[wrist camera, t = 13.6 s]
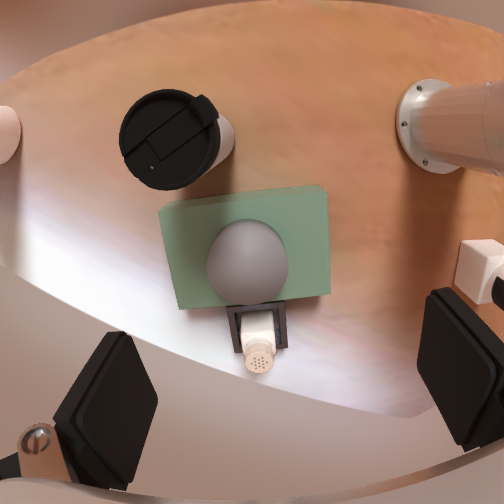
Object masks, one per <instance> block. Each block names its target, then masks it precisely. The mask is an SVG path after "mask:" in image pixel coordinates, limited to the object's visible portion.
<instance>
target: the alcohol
mask: <svg viewBox="0 0 504 504" xmlns="http://www.w3.org/2000/svg"><path fill="white" fill-rule="evenodd" d="M20 136H21V125H20V121H19V118H18V116H17V114H16V113H15V112H14V110H13V109H12V108H10V107H8V106H0V164H3V163H5V162H7V161H8V160H9V159H10V158H11V157H12V155H13V154H14V152H15V151H16V149H17V147H18V145H19V141H20Z"/></svg>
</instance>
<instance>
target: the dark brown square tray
mask: <svg viewBox="0 0 504 504" xmlns="http://www.w3.org/2000/svg"><path fill="white" fill-rule="evenodd" d="M266 309H271V310H272V314H273V323H274V332H275V344H276V349H283V348H288V341H287V327H286V314H285V302H284V300H278V301H268V302H263V303H260V304H255V305H240V304H239V305H228V306H227V313H228V319H229V325H230V330H231V336H232V341H233V346H234V352H235V353H241V352H243V349H242V343H241V320H242V312H246V311H256V310H266Z"/></svg>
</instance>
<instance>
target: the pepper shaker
mask: <svg viewBox="0 0 504 504" xmlns="http://www.w3.org/2000/svg"><path fill="white" fill-rule="evenodd" d="M241 343H242V349H243V354H244V356H245V365H246V367H247V369H248V370H250V371H252V372H253V373H264V372H267V371H268V370H269V369H271V368H272V366H273V362H274V359H273V355H274V354H275V353H276V344H275V332H274V323H273V314H272V310H271V309H266V310H256V311H246V312H242V320H241Z"/></svg>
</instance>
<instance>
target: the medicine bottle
mask: <svg viewBox="0 0 504 504" xmlns="http://www.w3.org/2000/svg"><path fill="white" fill-rule="evenodd" d="M454 284H455V285H456V286H457V287H458V288H459V289H460V290H461V291H463V292H464V293H465V294H466V295H467V296H468V297H469V298H470V299H471V300H473V301H474V302H475V303H476V304H478V305H479V304H485V303H490V302H494V303H495V304H496V305H497V306H498V307H500V308H501V309H502V310H503V311H504V246H503V245H502V244H500V243H498V242H496V241H495V240H493V239H487V240H463V241H461V246H460V252H459V258H458V264H457V269H456V274H455V280H454Z"/></svg>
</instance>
